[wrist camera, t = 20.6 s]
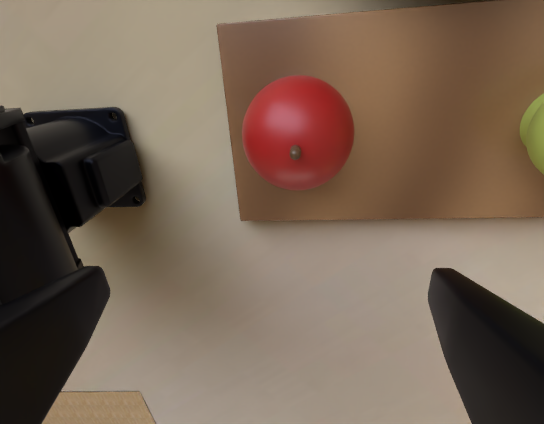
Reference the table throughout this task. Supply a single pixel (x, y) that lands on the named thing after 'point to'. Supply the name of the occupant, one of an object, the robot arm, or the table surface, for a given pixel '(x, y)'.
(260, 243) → the table surface
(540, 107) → the pear
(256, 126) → the apple
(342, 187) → the cutting board
